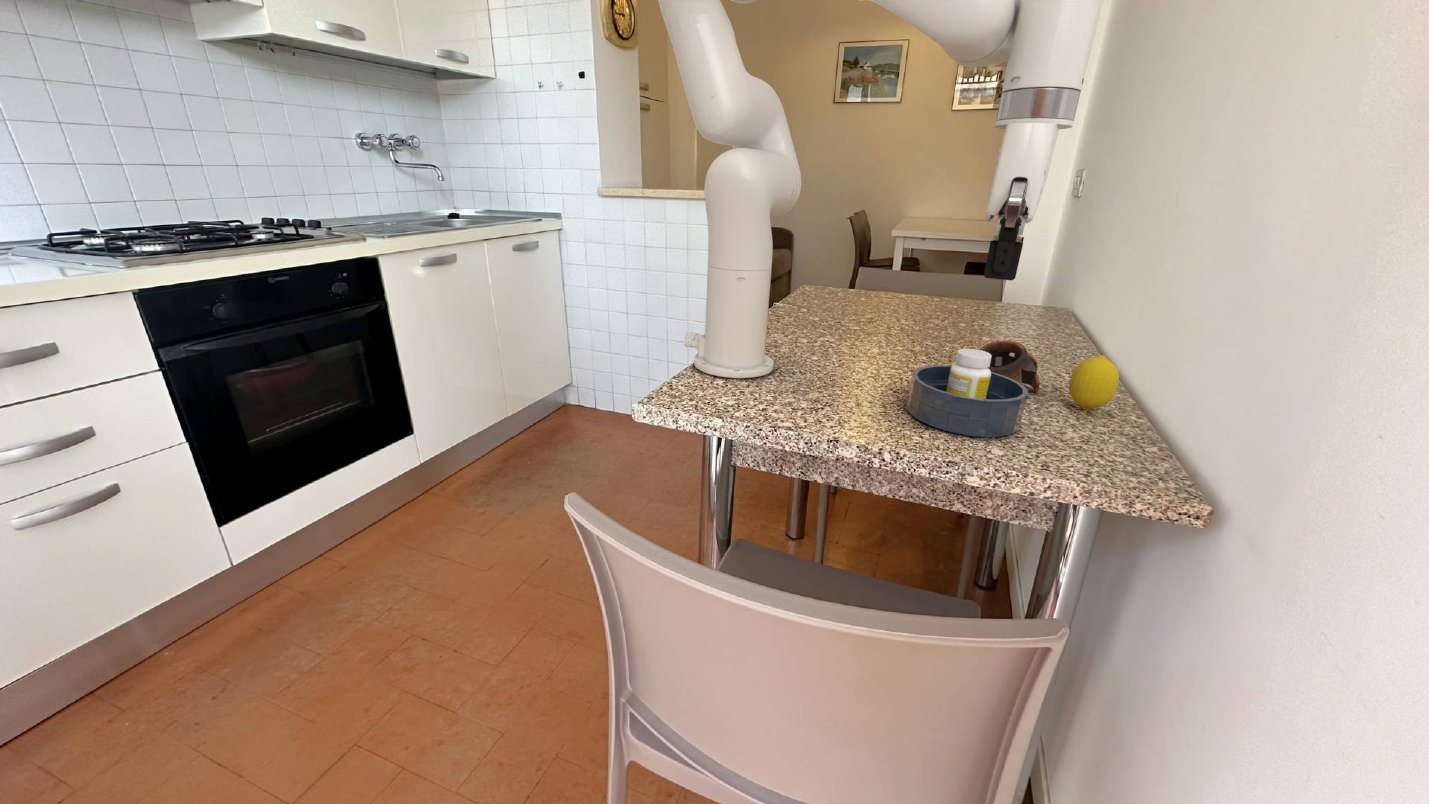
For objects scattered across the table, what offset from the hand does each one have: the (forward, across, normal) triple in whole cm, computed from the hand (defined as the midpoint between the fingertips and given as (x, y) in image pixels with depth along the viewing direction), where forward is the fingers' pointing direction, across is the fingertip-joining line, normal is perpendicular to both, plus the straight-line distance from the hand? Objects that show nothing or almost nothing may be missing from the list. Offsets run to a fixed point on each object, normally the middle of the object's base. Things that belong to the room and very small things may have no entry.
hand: (1000, 273), depth 68 cm
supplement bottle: (+18, 0, -1) cm, 19 cm away
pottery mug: (+19, -17, +3) cm, 26 cm away
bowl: (+19, 0, -1) cm, 19 cm away
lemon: (+19, -13, +14) cm, 27 cm away
